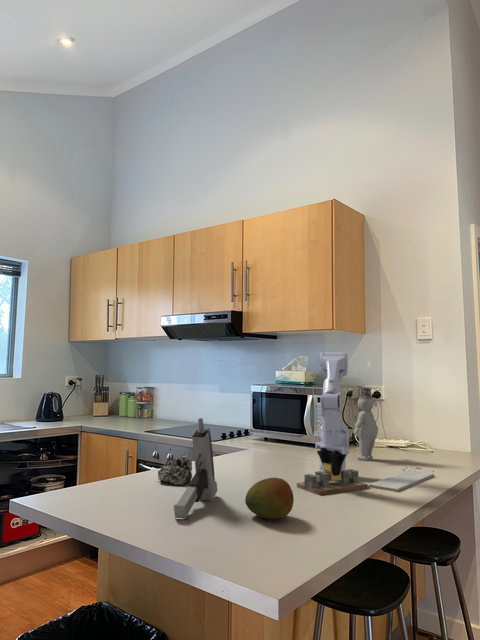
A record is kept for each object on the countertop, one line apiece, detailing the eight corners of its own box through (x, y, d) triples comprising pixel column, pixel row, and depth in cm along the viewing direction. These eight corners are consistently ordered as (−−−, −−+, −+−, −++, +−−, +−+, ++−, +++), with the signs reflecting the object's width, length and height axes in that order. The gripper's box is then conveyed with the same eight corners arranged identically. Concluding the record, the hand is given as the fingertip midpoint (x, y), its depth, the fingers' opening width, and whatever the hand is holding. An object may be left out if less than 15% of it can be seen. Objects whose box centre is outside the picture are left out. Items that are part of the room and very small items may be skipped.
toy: (368, 455, 213) (367, 387, 216) (387, 458, 207) (385, 387, 210) (346, 460, 200) (345, 388, 203) (365, 463, 194) (364, 388, 197)
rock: (203, 486, 162) (196, 459, 168) (193, 477, 154) (186, 449, 160) (168, 501, 162) (162, 473, 168) (156, 493, 155) (150, 465, 161)
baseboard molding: (361, 487, 157) (397, 494, 149) (361, 478, 157) (396, 484, 149) (401, 473, 180) (434, 478, 172) (401, 465, 180) (434, 469, 172)
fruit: (288, 527, 114) (288, 484, 115) (238, 522, 118) (238, 480, 119) (297, 514, 125) (297, 474, 126) (251, 509, 129) (251, 471, 130)
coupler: (323, 478, 155) (322, 462, 156) (332, 477, 157) (332, 461, 158) (331, 481, 152) (330, 464, 152) (341, 479, 153) (340, 463, 154)
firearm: (164, 452, 117) (197, 411, 141) (174, 539, 122) (204, 486, 146) (181, 453, 116) (212, 412, 140) (190, 541, 121) (219, 487, 144)
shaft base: (296, 486, 155) (296, 470, 155) (342, 480, 164) (342, 465, 164) (320, 495, 144) (319, 478, 145) (367, 488, 153) (367, 472, 154)
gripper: (307, 429, 160) (308, 471, 159) (336, 434, 148) (336, 479, 146) (324, 427, 164) (325, 469, 162) (353, 432, 151) (354, 477, 150)
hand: (331, 474), depth 154 cm, fingers closed on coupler, 4 cm apart
